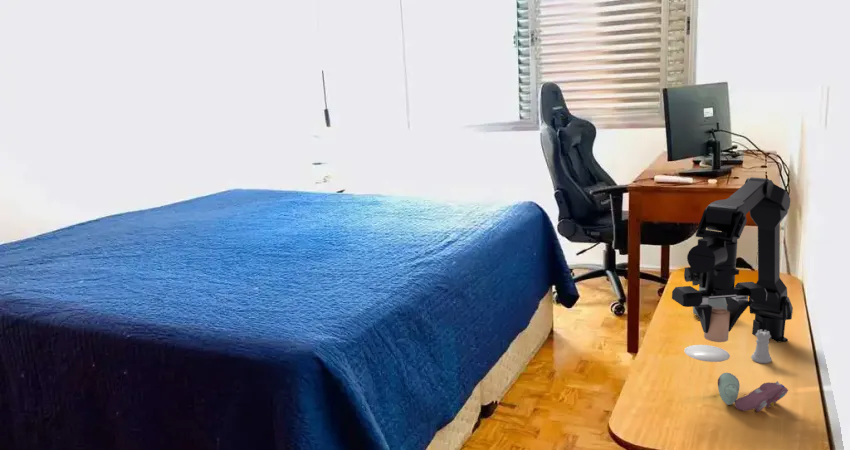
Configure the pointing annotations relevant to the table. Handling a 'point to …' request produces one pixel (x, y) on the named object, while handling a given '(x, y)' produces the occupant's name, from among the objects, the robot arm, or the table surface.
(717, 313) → the cup
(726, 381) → the robot head
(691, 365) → the table surface
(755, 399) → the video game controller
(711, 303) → the air freshener
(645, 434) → the table surface
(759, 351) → the rook chess piece
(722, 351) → the coaster
